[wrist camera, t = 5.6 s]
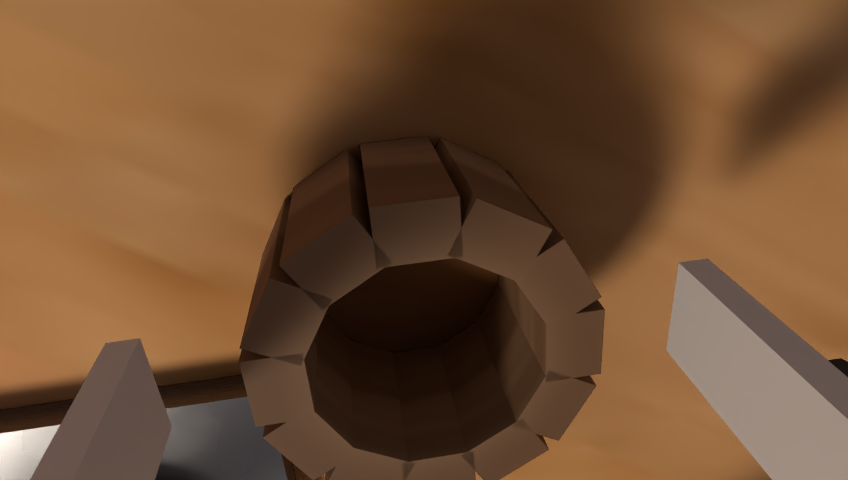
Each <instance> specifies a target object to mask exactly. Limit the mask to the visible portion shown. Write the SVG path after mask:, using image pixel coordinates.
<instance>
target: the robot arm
mask: <svg viewBox="0 0 848 480" xmlns="http://www.w3.org/2000/svg"><path fill="white" fill-rule="evenodd" d="M666 351H667V352H668V353H669V354H670V356H671V357H672V358H673V359H674V360H675V362H676V363H677V364H678V365H679V367H680V368H681V369H682V370H683V371H684V373H685V374H686V375H687V376H688V378H689V379H690V380H691V381H692V382H693V384H694V385H695V386H696V387H697V389H698V390H699V391H700V392H701V393H702V395H703V396H704V397H705V398H706V400H707V401H708V402H709V403H710V404H711V406H712V407H713V408H714V409H715V411H716V412H717V413H718V414H719V415H720V417H721V418H722V419H723V420H724V422H725V423H726V424H727V425H728V427H729V428H730V429H731V430H732V431H733V433H734V434H735V435H736V436H737V438H738V439H739V440H740V441H741V442H742V444H743V445H744V446H745V447H746V449H747V450H748V451H749V452H750V453H751V455H752V456H753V457H754V458H755V460H756V461H757V462H758V463H759V464H760V466H761V467H762V468H763V469H764V471H765V472H766V473H767V474H768V475H769V477H770V478H771V479H772V480H848V362H847V361H845V360H843V359H841V358H840V359H833V360H827V359H826V358H824V357H823V356H822V355H821V354H820V353H819V352H817V351H816V350H815V349H814V348H813V347H811V346H810V345H809V344H808V343H807V342H806V341H804V340H803V339H802V338H801V337H800V336H798V335H797V334H796V333H795V332H794V331H793V330H791V329H790V328H789V327H788V326H787V325H785V324H784V323H783V322H782V321H781V320H780V319H778V318H777V317H776V316H775V315H774V314H772V313H771V312H770V311H769V310H768V309H767V308H765V307H764V306H763V305H762V304H761V303H759V302H758V301H757V300H756V299H755V298H754V297H752V296H751V295H750V294H749V293H748V292H746V291H745V290H744V289H743V288H742V287H741V286H739V285H738V284H737V283H736V282H735V281H733V280H732V279H731V278H730V277H729V276H728V275H726V274H725V273H724V272H723V271H722V270H720V269H719V268H718V267H717V266H716V265H715V264H713V263H712V262H711V261H710V260H709V259H702V260H694V261H687V262H680V263H679V265H678V272H677V279H676V286H675V293H674V300H673V307H672V314H671V321H670V328H669V335H668V342H667V349H666ZM171 428H172V426H171V423H170V420H169V417H168V415H167V412H166V409H165V406H164V403H163V401H162V398H161V395H160V392H159V390H158V387H157V384H156V381H155V379H154V376H153V373H152V370H151V368H150V365H149V362H148V359H147V357H146V354H145V351H144V348H143V346H142V343H141V340H140V338H139V339H132V340H125V341H118V342H110V343H105V345H104V347H103V349H102V350H101V352H100V354H99V356H98V358H97V359H96V361H95V363H94V365H93V367H92V368H91V370H90V372H89V374H88V376H87V377H86V379H85V381H84V383H83V385H82V387H81V388H80V390H79V392H78V394H77V396H76V397H75V399H74V401H73V403H72V405H71V406H70V408H69V410H68V412H67V414H66V415H65V417H64V419H63V421H62V423H61V424H60V426H59V428H58V430H57V432H56V433H55V435H54V437H53V439H52V441H51V442H50V444H49V446H48V448H47V450H46V451H45V453H44V455H43V457H42V459H41V461H40V462H39V464H38V466H37V468H36V470H35V471H34V473H33V475H32V477H31V479H30V480H155V478H156V475H157V472H158V468H159V465H160V462H161V459H162V456H163V453H164V450H165V447H166V444H167V441H168V437H169V434H170V431H171Z"/></svg>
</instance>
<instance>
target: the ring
mask: <svg viewBox="0 0 848 480" xmlns="http://www.w3.org/2000/svg"><path fill="white" fill-rule="evenodd" d="M360 148H361V156H362V164H363V168H362V167H361V165H360V164H359V163H358V162H357V160H356V159H355V158H354V157H353V155H352V154H351V153H350V152H349V150H348V149H346V150H345V151H343V152H342V153H341V154H339V155H338V156H336V157H335V158H334V159H332V160H331V161H330V162H328V163H327V164H325V165H324V166H323V167H321V168H320V169H319V170H317V171H316V172H315V173H313V174H312V175H310V176H309V177H308V178H306V179H305V180H304V181H302V182H301V183H299V184H298V185H297V186H295V187H294V188H293V192H292V198H291V200H290V199H287V198H285V200H284V203H283V205H282V208H281V210H280V213H279V215H278V218H277V220H276V223H275V225H274V228H273V230H272V232H271V235H270V237H269V240H268V242H267V245H266V247H265V250H264V252H263V255H262V259H261V263H260V268H259V272H258V276H257V280H256V284H255V288H254V292H253V296H252V300H251V304H250V308H249V312H248V316H247V321H246V325H245V329H244V333H243V337H242V341H241V345H240V349H242V351H241V355H240V359H239V365H240V369H241V373H242V377H243V381H244V384H245V388H246V392H247V396H248V400H249V403H250V407H251V411H252V415H253V419H254V422H255V426H256V427H258V426H265V427H264V433H263V438H264V439H265V440H266V441H267V442H268V443H270V444H271V445H272V446H273V447H274V448H275V449H277V450H278V451H279V452H280V453H281V454H282V455H284V456H285V457H286V458H287V459H288V460H290V461H291V462H292V463H293V464H294V465H295V466H297V467H298V468H299V469H300V470H301V471H302V472H304V473H305V474H306V475H307V476H308V477H309V478H311V479H312V480H315V479H317V478H318V477H320V476H321V475H323V474H324V473H326V477H325V480H476V478H475V471H476V472H477V473H478V474H479V475H480V476H481V477H482V479H483V480H499V479H501V478H503V477H504V476H506V475H508V474H509V473H511V472H513V471H514V470H516V469H518V468H519V467H521V466H523V465H524V464H526V463H528V462H529V461H531V460H533V459H534V458H536V457H538V456H539V455H541V454H543V453H544V452H546V451H547V450H549V449H548V447H547V444H546V442H545V440H544V438H543V436H545V437H548V438H552V439H555V440H559V439H560V438H561V437H562V435H563V434H564V432H565V431H566V429H567V428H568V426H569V425H570V423H571V422H572V420H573V419H574V418H575V416H576V415H577V413H578V412H579V410H580V409H581V407H582V406H583V404H584V403H585V402H586V400H587V399H588V397H589V396H590V394H591V393H592V391H593V390H594V388H595V387H596V384H595V383H594V381H593V380H592V378H591V376H590V375H595V374H601V362H602V346H603V330H604V314H605V309H604V308H603V307H602V305H601V304H600V303H599V301H598V300H597V299H599V298H601V295H600V294H599V292H598V290H597V289H596V287H595V286H594V284H593V283H592V281H591V280H590V278H589V277H588V275H587V273H586V272H585V270H584V269H583V267H582V266H581V264H580V263H579V261H578V260H577V258H576V256H575V255H574V253H573V252H572V250H571V249H570V247H569V246H568V244H567V243H566V241H565V239H564V238H563V237H562V236H561V235H560V233H559V232H558V231H557V230H556V229H555V227H554V226H553V225H552V224H551V222H550V221H549V220H548V219H547V218H546V216H545V215H544V214H543V213H542V212H541V210H540V209H539V208H538V207H537V206H536V204H535V203H534V202H533V201H532V200H531V198H530V197H529V196H528V195H527V193H526V192H525V191H524V190H523V189H522V187H521V186H520V185H519V184H518V183H517V181H516V180H515V179H514V178H513V177H512V175H511V174H510V173H509V172H508V171H507V172H505V170H504V169H503V168H502V167H501V165H500V164H499V163H497V162H495V161H492V160H490V159H488V158H485V157H483V156H481V155H479V154H476V153H474V152H472V151H469V150H467V149H465V148H463V147H460V146H458V145H456V144H453V143H451V142H449V141H447V140H444V139H442V138H440V140H439V143H438V145H437V147H436V149H434V147H433V145H432V143H431V141H430V139H429V138H428V136H423V137H415V138H406V139H397V140H388V141H380V142H371V143H362V144H360ZM451 258H456V259H459V260H462V261H464V262H467V263H470V264H472V265H475V266H478V267H480V268H483V269H486V270H488V271H491V272H494V273H496V274H498V284H497V286H496V288H495V290H494V291H493V293H492V295H491V297H490V298H489V300H488V302H487V304H486V305H485V307H484V309H483V311H482V312H481V314H480V316H479V318H478V319H477V321H476V322H474V323H473V324H471V325H470V326H468V327H467V328H465V329H464V330H462V331H461V332H459V333H458V334H456V335H455V336H453V337H452V338H450V339H448V340H447V341H445V342H444V343H442V344H441V345H439V346H436V347H429V348H422V349H415V350H408V351H402V352H395V353H391V352H388V351H385V350H382V349H379V348H375V347H372V346H369V345H366V344H362V343H359V342H356V341H353V340H350V339H348V338H347V336H346V335H345V334H344V333H343V332H342V331H341V330H340V329H339V328H338V327H337V326H336V325H335V324H334V323H333V322H332V321H331V320H330V319H329V318H328V317H327V316H326V314H325V313H326V311H327V309H328V307H329V305H331V304H332V303H334V302H335V301H337V300H338V299H340V298H341V297H343V296H344V295H345V294H347V293H348V292H350V291H351V290H353V289H354V288H356V287H357V286H359V285H360V284H361V283H363V282H364V281H366V280H367V279H369V278H370V277H372V276H373V275H375V274H376V273H377V272H379V271H380V270H382V269H383V268H385V267H391V266H398V265H406V264H413V263H421V262H428V261H436V260H443V259H451Z"/></svg>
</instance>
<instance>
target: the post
mask: <svg viewBox="0 0 848 480" xmlns="http://www.w3.org/2000/svg"><path fill="white" fill-rule="evenodd" d="M158 390H159V392H160V395H161V398H162V401H163V403H164V406H165V409H166V412H167V415H168V417H169V420H170V423H171V426H172V428H171V431H170V434H169V437H168V441H167V444H166V447H165V450H164V453H163V456H162V459H161V462H160V465H159V468H158V472H157V475H156V478H155V480H296V478H295V474H294V470H293V466H292V462H291V461H290V460H288V459H287V458H286V457H285V456H284V455H282V454H281V453H280V452H279V451H278V450H277V449H275V448H274V447H273V446H272V445H271V444H270V443H268V442H267V441H266V440H265V439H264V438H263V433H264V427H265V426H258V427H256V426H255V422H254V419H253V415H252V411H251V407H250V403H249V400H248V396H247V392H246V388H245V384H244V381H243V377H242V375H238V376H231V377H224V378H217V379H210V380H204V381H197V382H190V383H183V384H176V385H169V386H163V387H158ZM73 401H74V400H67V401H60V402H53V403H46V404H40V405H33V406H26V407H19V408H12V409H5V410H0V480H30V479H31V477H32V475H33V473H34V471H35V470H36V468H37V466H38V464H39V462H40V461H41V459H42V457H43V455H44V453H45V451H46V450H47V448H48V446H49V444H50V442H51V441H52V439H53V437H54V435H55V433H56V432H57V430H58V428H59V426H60V424H61V423H62V421H63V419H64V417H65V415H66V414H67V412H68V410H69V408H70V406H71V405H72V403H73Z"/></svg>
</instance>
